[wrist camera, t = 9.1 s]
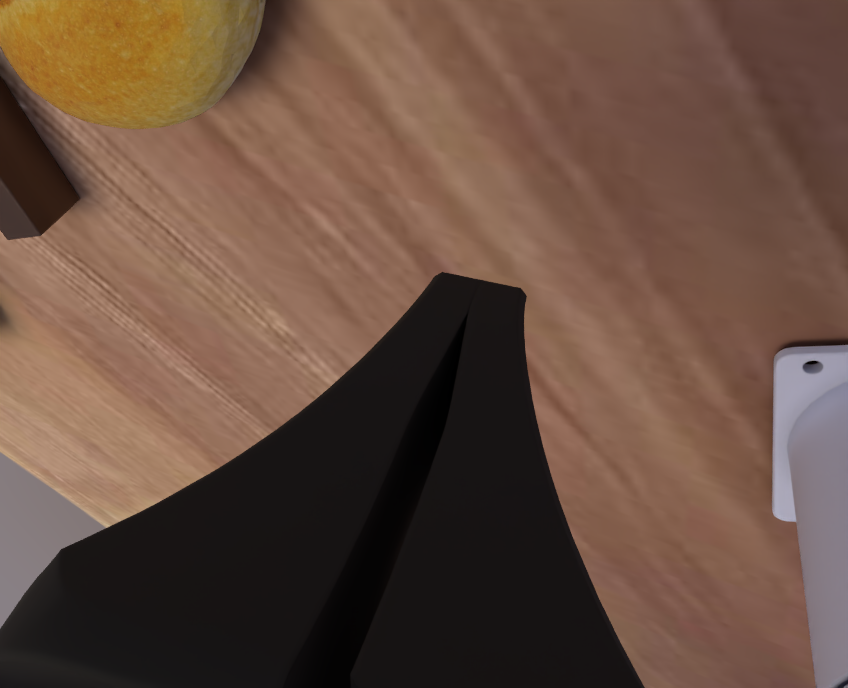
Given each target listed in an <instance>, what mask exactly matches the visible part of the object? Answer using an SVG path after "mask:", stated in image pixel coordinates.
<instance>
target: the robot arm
mask: <svg viewBox="0 0 848 688" xmlns="http://www.w3.org/2000/svg"><path fill="white" fill-rule="evenodd" d="M526 297H527V296H526V294H525V293H524V292H523V290H522V289H521V288H517V287H512V286H507V285H503V284H498V283H493V282H488V281H483V280H478V279H474V278H469V277H464V276H459V275H454V274H449V273H444V272H442V273H440V274H438V275H436V276H435V277H434V278H433V280H432V281H431V282H430V284H429V285H428V286H427V288H426V289H425V290H424V291H423V293H422V294H421V295H420V296H419V298H418V299H417V300H416V301H415V302H414V304H413V305H412V306H411V307H410V308H409V310H408V311H407V312H406V313H405V314H404V315H403V316H402V317H401V318H400V320H399V321H398V322H397V323H396V324H395V325H394V326H393V327H392V328H391V329H390V330H389V331H388V332H387V333H386V334H385V335H384V336H383V338H382V339H381V340H380V341H379V342H378V343H377V344H376V345H375V346H374V347H373V348H372V349H371V350H370V351H369V352H368V353H367V354H366V355H365V356H364V357H363V358H362V359H361V360H360V361H359V362H357V363H356V364H355V365H354V366H353V367H352V368H351V369H350V370H349V371H347V372H346V373H345V374H344V375H343V376H342V377H341V378H340V379H339V380H338V381H336V382H335V383H334V384H333V385H332V386H331V387H330V388H329V389H328V390H326V391H325V392H324V393H323V394H322V395H320V396H319V397H318V398H317V399H316V400H314V401H313V402H312V403H311V404H309V405H308V406H307V407H306V408H304V409H303V410H302V411H301V412H299V413H298V414H297V415H295V416H294V417H293V418H291V419H290V420H289V421H287V422H286V423H285V424H283V425H282V426H281V427H279V428H278V429H277V430H275V431H274V432H273V433H271V434H270V435H268V436H267V437H265V438H264V439H262V440H261V441H259V442H258V443H256V444H255V445H253V446H252V447H251V448H249V449H248V450H246V451H245V452H243V453H242V454H240V455H239V456H237V457H236V458H234V459H232V460H231V461H229V462H228V463H226V464H225V465H223V466H221V467H220V468H218V469H217V470H215V471H213V472H211V473H210V474H208V475H206V476H204V477H203V478H201V479H199V480H197V481H196V482H194V483H192V484H190V485H189V486H187V487H185V488H183V489H181V490H180V491H178V492H176V493H174V494H173V495H171V496H169V497H167V498H166V499H164V500H162V501H160V502H159V503H157V504H155V505H153V506H151V507H149V508H147V509H145V510H143V511H141V512H139V513H137V514H135V515H133V516H131V517H129V518H127V519H125V520H122V521H120V522H118V523H116V524H114V525H112V526H110V527H108V528H106V529H104V530H101V531H100V532H97V533H95V534H93V535H91V536H89V537H87V538H85V539H83V540H80V541H78V542H76V543H74V544H72V545H69V546H67V547H65V548H63V549H61V550H60V552H59V553H58V554H57V555H56V557H55V558H54V559H53V560H52V561H51V563H50V564H49V565H48V566H47V567H46V568H45V570H44V571H43V572H42V573H41V574H40V575H39V576H38V577H37V579H36V580H35V581H34V582H33V584H32V585H31V586H30V587H29V589H28V590H27V591H26V593H25V594H24V595H23V597H22V598H21V600H20V601H19V603H18V604H17V606H16V607H15V609H14V610H13V611H12V613H11V614H10V616H9V617H8V619H7V620H6V621H5V623H4V624H3V626H2V627H1V629H0V688H645V687H644V686H643V684H642V682H641V680H640V678H639V677H638V675H637V673H636V671H635V669H634V667H633V665H632V664H631V662H630V660H629V658H628V656H627V654H626V652H625V650H624V648H623V647H622V645H621V643H620V641H619V639H618V637H617V635H616V633H615V631H614V629H613V627H612V624H611V622H610V620H609V618H608V616H607V614H606V612H605V610H604V608H603V606H602V604H601V602H600V600H599V598H598V595H597V593H596V591H595V588H594V586H593V584H592V581H591V579H590V577H589V574H588V572H587V570H586V567H585V565H584V563H583V560H582V558H581V556H580V553H579V551H578V549H577V546H576V544H575V542H574V539H573V537H572V534H571V532H570V529H569V526H568V523H567V521H566V518H565V515H564V512H563V510H562V507H561V504H560V501H559V498H558V495H557V492H556V489H555V486H554V483H553V480H552V477H551V473H550V470H549V466H548V463H547V459H546V456H545V452H544V448H543V445H542V441H541V436H540V432H539V428H538V424H537V420H536V415H535V410H534V405H533V400H532V394H531V388H530V382H529V376H528V370H527V362H526V353H525V339H524V310H525V302H526ZM808 361H819V362H818V363H816V364H811V365H810V364H805V363H807V362H808ZM772 511H773V514H774V516H775V517H777V518H778V519H781V520H783V521H795V522H796V523H797V532H798V540H799V548H800V557H801V565H802V573H803V582H804V590H805V598H806V607H807V615H808V624H809V632H810V640H811V649H812V657H813V666H814V674H815V682H816V688H848V345H835V346H808V347H790V348H785V349H783V350H781V351H779V352H778V353H777V354H776V355H775V357H774V367H773V455H772Z"/></svg>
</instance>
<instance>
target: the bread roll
mask: <svg viewBox="0 0 848 688" xmlns="http://www.w3.org/2000/svg"><path fill="white" fill-rule="evenodd" d="M265 1H266V0H0V46H1V48H2V50H3V52H4V54H5V56H6V58H7V59H8V61H9V62H10V64H11V66H12V67H13V68H14V70H15V71H16V73H17V74H18V75H19V76H20V78H21V79H22V80H23V81H24V82H25V83H26V85H27V86H28V87H29V88H30V89H31V90H33V91H34V92H35V93H36V94H38V95H39V96H41V97H42V98H44V99H45V100H46V101H48V102H49V103H51V104H52V105H54V106H55V107H57V108H58V109H60V110H61V111H63V112H65V113H67V114H70V115H72V116H74V117H76V118H79V119H81V120H84V121H87V122H91V123H96V124H100V125H105V126H111V127H118V128H128V129H144V128H158V127H165V126H170V125H174V124H179V123H182V122H185V121H187V120H189V119H191V118H193V117H196V116H198V115H200V114H202V113H203V112H205V111H206V110H208V109H210V108H211V107H212V106H214V105H215V104H216V103H217V102H218V101H219V100H220V99H221V98H222V96H223V95H224V94H225V93H226V92H227V90H228V88H229V87H230V86H231V85H232V84H233V83H234V81H235V79H236V78H237V76H238V75H239V73H240V72H241V70H242V69H243V66H244V64H245V62H246V61H247V59H248V57H249V56H250V54H251V52H252V50H253V47H254V45H255V42H256V40H257V37H258V34H259V32H260V28H261V24H262V19H263V14H264V7H265Z"/></svg>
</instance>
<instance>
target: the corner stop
mask: <svg viewBox="0 0 848 688" xmlns="http://www.w3.org/2000/svg"><path fill="white" fill-rule="evenodd" d="M78 201H79V197H78V196H77V194H76V192H75V191H74V189H73V188H72V186H71V185H70V183H69V182H68V180H67V179H66V177H65V176H64V174H63V172H62V171H61V169H60V168H59V166H58V165H57V163H56V162H55V160H54V159H53V157H52V156H51V154H50V152H49V151H48V149H47V148H46V146H45V145H44V143H43V142H42V140H41V139H40V137H39V136H38V134H37V132H36V131H35V129H34V128H33V126H32V125H31V123H30V122H29V120H28V119H27V117H26V116H25V114H24V112H23V111H22V109H21V108H20V106H19V105H18V103H17V102H16V100H15V99H14V97H13V96H12V94H11V92H10V91H9V89H8V88H7V86H6V85H5V83H4V82H3V80H2V79H1V77H0V230H1V232H2V233H3V235H4V236H5V237H6V239H8V240H12V239H20V238H27V237H35V236H41V235H42V234H43V233H44V232H45V231H46V230H48V229H49V228H50V227H51V226H52V225H53V224H54V223H55V222H56V221H57V220H58V219H59V218H60V217H62V216H63V215H64V214H65V213H66V212H67V211H68V210H69V209H70V208H71V207H72V206H73V205H74V204H75V203H77V202H78Z"/></svg>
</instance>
